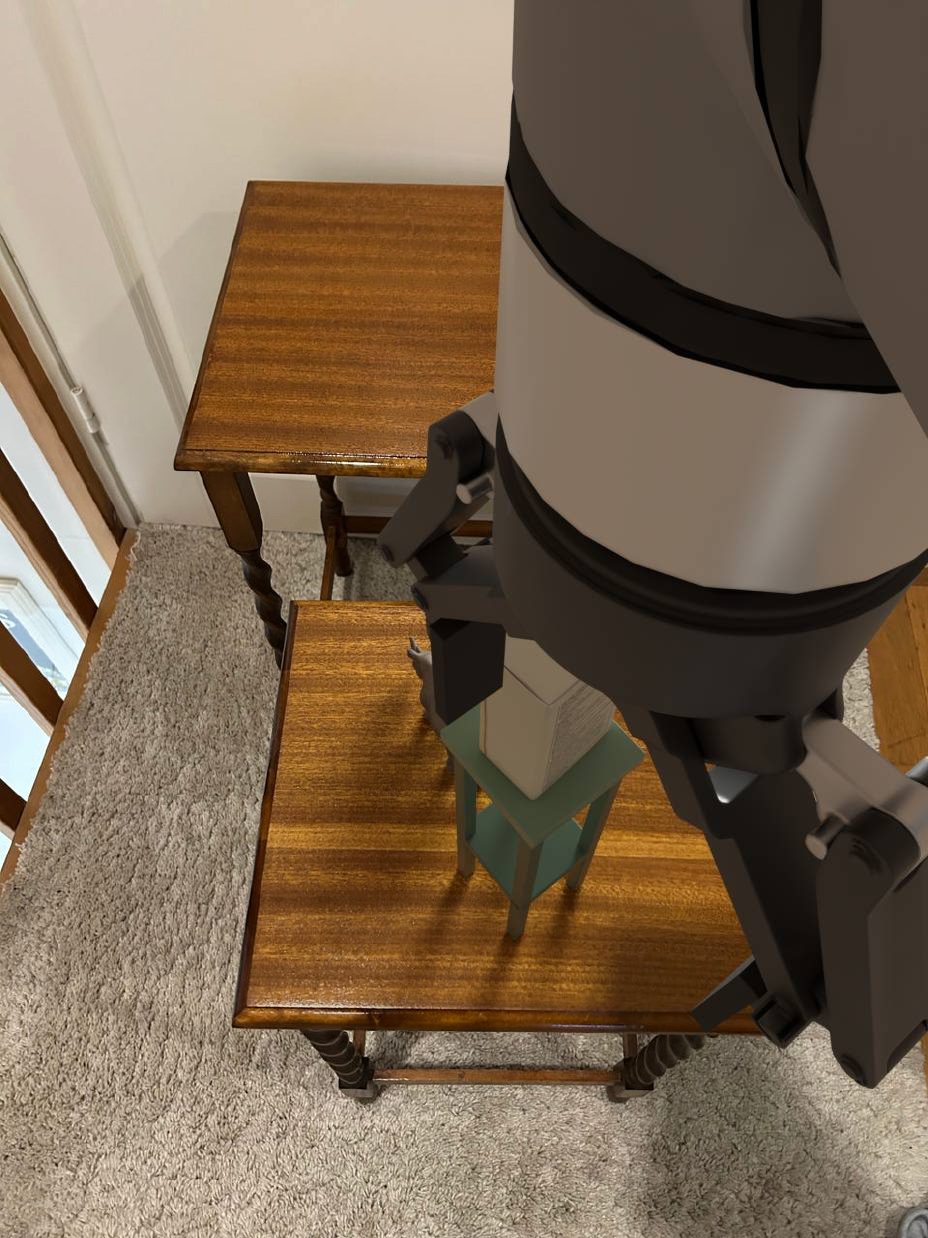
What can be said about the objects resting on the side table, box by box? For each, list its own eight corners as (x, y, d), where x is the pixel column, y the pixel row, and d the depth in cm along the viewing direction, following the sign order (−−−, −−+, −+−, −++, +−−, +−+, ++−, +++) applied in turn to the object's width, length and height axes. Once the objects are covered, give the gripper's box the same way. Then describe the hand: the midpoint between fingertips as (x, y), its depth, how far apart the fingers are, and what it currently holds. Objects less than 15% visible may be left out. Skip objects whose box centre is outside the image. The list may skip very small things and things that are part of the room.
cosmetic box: (554, 680, 53) (575, 558, 43) (613, 733, 51) (649, 619, 41) (474, 752, 51) (475, 641, 40) (532, 809, 49) (550, 709, 39)
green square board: (642, 762, 52) (646, 753, 51) (532, 850, 49) (533, 843, 48) (548, 662, 55) (550, 652, 54) (440, 739, 52) (439, 730, 51)
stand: (583, 883, 73) (631, 756, 51) (514, 940, 71) (533, 833, 49) (525, 815, 76) (548, 667, 54) (457, 868, 74) (452, 736, 52)
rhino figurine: (435, 643, 84) (433, 608, 79) (502, 774, 78) (504, 745, 73) (393, 660, 83) (388, 626, 78) (457, 794, 77) (456, 766, 72)
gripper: (1713, 883, 11) (942, 1068, 29) (444, 21, 21) (456, 555, 40) (1419, 1376, 9) (779, 1245, 27) (151, 142, 19) (307, 650, 37)
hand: (587, 835), depth 33 cm, fingers open, 13 cm apart
